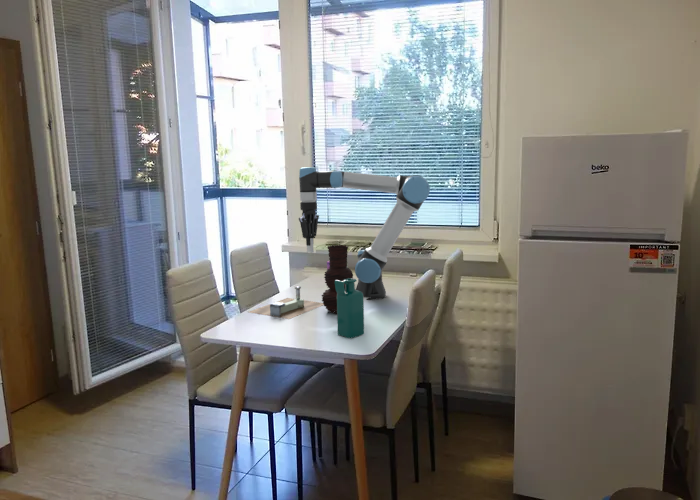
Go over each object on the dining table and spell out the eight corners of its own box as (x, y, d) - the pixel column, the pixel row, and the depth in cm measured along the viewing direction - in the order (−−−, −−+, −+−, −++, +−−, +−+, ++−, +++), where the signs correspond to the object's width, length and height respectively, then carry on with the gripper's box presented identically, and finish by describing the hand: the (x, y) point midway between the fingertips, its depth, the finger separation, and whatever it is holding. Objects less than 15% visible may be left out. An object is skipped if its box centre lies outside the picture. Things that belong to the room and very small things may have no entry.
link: (298, 304, 254) (298, 298, 254) (306, 306, 251) (306, 299, 251) (271, 313, 241) (270, 306, 241) (279, 314, 238) (279, 308, 238)
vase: (314, 315, 242) (312, 247, 237) (337, 307, 254) (336, 242, 249) (341, 321, 232) (339, 250, 228) (364, 313, 244) (363, 245, 239)
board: (327, 306, 256) (327, 303, 256) (289, 322, 233) (289, 319, 233) (287, 300, 268) (287, 297, 268) (247, 315, 245) (247, 312, 245)
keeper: (285, 314, 239) (285, 303, 238) (279, 316, 236) (279, 305, 235) (276, 313, 242) (275, 301, 241) (270, 315, 238) (269, 304, 238)
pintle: (302, 299, 251) (302, 286, 250) (298, 300, 248) (298, 287, 248) (297, 298, 252) (297, 285, 251) (293, 299, 250) (293, 287, 249)
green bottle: (351, 329, 221) (350, 275, 218) (366, 334, 215) (365, 278, 211) (332, 335, 215) (331, 279, 211) (347, 340, 208) (346, 282, 205)
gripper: (310, 200, 263) (311, 249, 267) (293, 202, 252) (295, 253, 256) (323, 200, 259) (324, 250, 263) (306, 202, 248) (308, 254, 252)
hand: (310, 252), depth 259 cm, fingers closed
